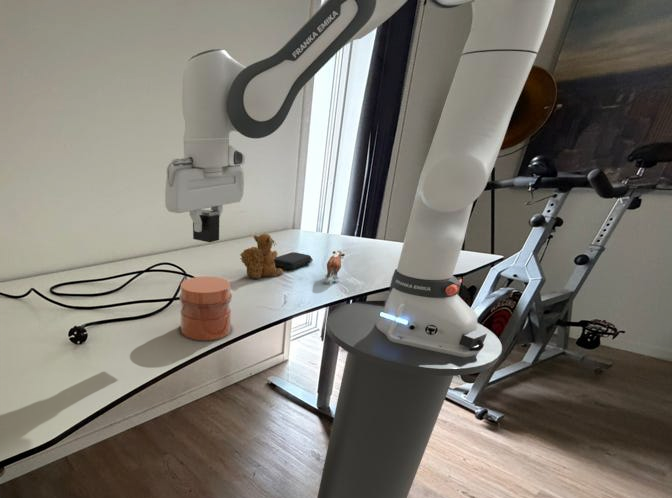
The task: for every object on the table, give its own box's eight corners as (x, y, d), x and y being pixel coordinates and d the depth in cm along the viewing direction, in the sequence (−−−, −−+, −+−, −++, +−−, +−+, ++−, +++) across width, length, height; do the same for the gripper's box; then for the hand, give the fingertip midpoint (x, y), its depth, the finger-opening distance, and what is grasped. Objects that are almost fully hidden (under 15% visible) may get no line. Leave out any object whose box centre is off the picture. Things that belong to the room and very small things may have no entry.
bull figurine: (342, 273, 127) (347, 249, 123) (335, 286, 116) (340, 259, 112) (329, 272, 128) (333, 248, 124) (321, 284, 118) (325, 258, 114)
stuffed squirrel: (284, 273, 128) (288, 233, 122) (258, 283, 120) (261, 241, 114) (261, 267, 135) (263, 229, 128) (234, 277, 127) (236, 236, 120)
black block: (219, 240, 82) (219, 211, 79) (209, 242, 80) (209, 213, 77) (202, 236, 85) (202, 209, 82) (193, 239, 83) (192, 211, 80)
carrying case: (292, 272, 129) (316, 263, 137) (293, 264, 127) (317, 255, 136) (267, 266, 136) (291, 258, 144) (268, 258, 134) (292, 250, 143)
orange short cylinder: (241, 328, 92) (242, 283, 86) (207, 346, 85) (206, 297, 79) (204, 315, 100) (204, 272, 94) (170, 330, 92) (167, 285, 87)
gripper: (178, 159, 66) (181, 240, 73) (250, 154, 78) (247, 224, 85) (155, 159, 70) (160, 235, 77) (227, 154, 82) (225, 221, 89)
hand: (206, 229), depth 81 cm, fingers closed on black block, 3 cm apart
